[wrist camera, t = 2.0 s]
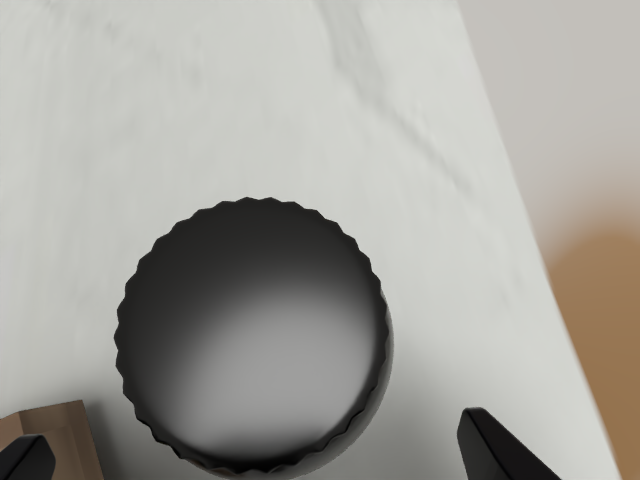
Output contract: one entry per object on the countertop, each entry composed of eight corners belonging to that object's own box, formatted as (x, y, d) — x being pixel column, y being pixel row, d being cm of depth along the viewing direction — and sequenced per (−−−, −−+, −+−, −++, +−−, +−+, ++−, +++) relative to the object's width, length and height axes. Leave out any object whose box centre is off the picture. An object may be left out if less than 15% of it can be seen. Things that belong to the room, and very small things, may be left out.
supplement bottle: (357, 421, 17) (483, 541, 6) (202, 435, 17) (6, 599, 5) (344, 271, 19) (417, 143, 8) (204, 279, 19) (64, 154, 7)
